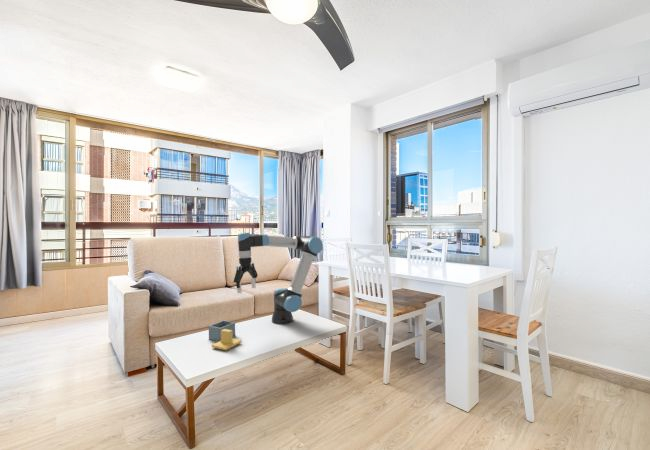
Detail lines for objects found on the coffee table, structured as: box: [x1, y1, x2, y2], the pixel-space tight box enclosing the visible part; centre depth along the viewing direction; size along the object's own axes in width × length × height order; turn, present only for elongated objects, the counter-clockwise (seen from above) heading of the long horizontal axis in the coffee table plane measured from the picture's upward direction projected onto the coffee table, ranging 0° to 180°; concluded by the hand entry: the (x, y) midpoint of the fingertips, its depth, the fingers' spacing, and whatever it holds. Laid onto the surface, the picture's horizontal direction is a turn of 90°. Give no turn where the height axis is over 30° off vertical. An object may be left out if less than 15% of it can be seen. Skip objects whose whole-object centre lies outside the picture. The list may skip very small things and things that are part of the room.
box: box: [208, 319, 236, 342], centre depth 192 cm, size 12×10×8 cm
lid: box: [211, 329, 243, 351], centre depth 178 cm, size 13×11×9 cm
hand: (246, 290), depth 196 cm, fingers open, 13 cm apart
